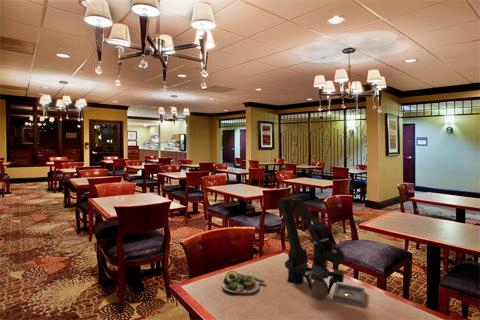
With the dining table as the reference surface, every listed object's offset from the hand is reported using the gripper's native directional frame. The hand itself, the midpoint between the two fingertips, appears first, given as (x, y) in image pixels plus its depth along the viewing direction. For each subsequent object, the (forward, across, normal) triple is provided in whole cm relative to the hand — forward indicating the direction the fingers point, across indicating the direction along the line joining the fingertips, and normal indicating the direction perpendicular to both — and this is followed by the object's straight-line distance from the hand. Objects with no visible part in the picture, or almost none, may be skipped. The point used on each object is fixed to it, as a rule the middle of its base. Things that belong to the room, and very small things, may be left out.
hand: (319, 291), depth 119 cm
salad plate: (+3, -35, -5) cm, 35 cm away
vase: (+2, 0, 0) cm, 2 cm away
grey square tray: (+2, +11, +6) cm, 13 cm away
